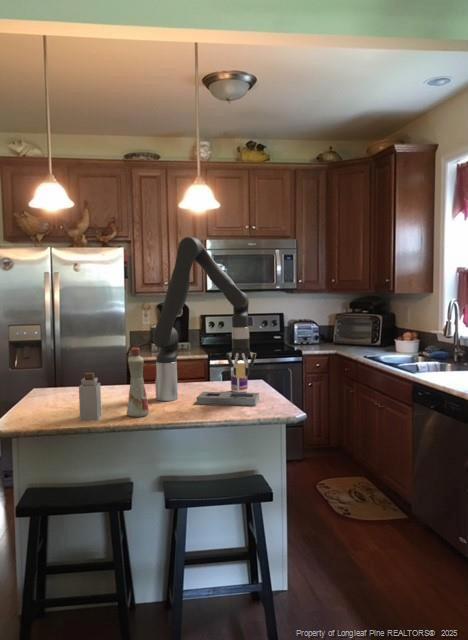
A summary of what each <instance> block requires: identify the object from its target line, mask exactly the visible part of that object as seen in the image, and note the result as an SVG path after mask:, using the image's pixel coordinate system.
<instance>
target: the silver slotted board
mask: <svg viewBox="0 0 468 640" xmlns="http://www.w3.org/2000/svg"><path fill="white" fill-rule="evenodd" d="M259 402H260V392H242V393H240V392H233V391H232V392H231V391H202V392H201V393H200V394H199V395H198V396H196V405H209V406H210V405H213V406H217V405H219V406H220V405H221V406H249V407H250V406H251V407H254V406H257V404H258V403H259Z"/></svg>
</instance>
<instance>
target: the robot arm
mask: <svg viewBox="0 0 468 640" xmlns="http://www.w3.org/2000/svg"><path fill="white" fill-rule="evenodd" d="M194 261H195V262H196V263H197V264H198V265H199V267H201V268H202V269H203V270H204V272H205V273H206V275H207V277H208V278H209V280H210V281H211V283H212V284H213V285H214V286H215V287H216V288H217V289H218V290H219V291H220V292H221V293H222V294H223V295H224V297H225V299H226V300H227V301H228V302H229V303H230V305H232V307H233V309H232V310H233V312H232V313H233V315H232V321H231V323H232V324H231V325H232V328H231V341H232V343H231V346H232V347H231V349H232V350H231V351H230V352H227V353H225V358H226V360H227V362H228V366H229V367H230V368H232V367H233V368H234V375H235V376H236V364H237V363H238V361H242V362H244V363H245V366H246V368H245V374H246V376H247V377H248V376H249V375H250V368H251V367H253V366H254V363H255V360H256V357H257V352H252V351H251V349H250V329H249V315H248V313H249V304H250V302H249V297H248V294H247V293H245V292H244V291H241V290H240V289H239V288H238V286H236V283H235V282H234V280H233V279H232V278H231V276H229V275H228V274H227V273H226V272H225V271H224V270H223V269H222V268H221V267H220V266H219V265H218V263H216V261H215V259H213V258H212V256H211V254H210V253H209V252H208V250H207V249H206V248H205V246H204V245H203V243H202V242H201V241H200V239H199V238H197V237H192V236H186V237H183V238H182V239H181V240H180V241H179V243H178V247H177V253H176V258H175V263H174V268H173V270H172V273H171V278H170V279H169V284H168V286H167V290H166V294H165V297H164V301H163V305H162V308H161V311H160V315H159V318H158V321H157V323H156V326H155V329H154V331H153V334H152V342H153V344H154V346H155V347H157V348H159V349H160V350H159V353H158V354H157V355H156V358H155V359H156V363H155V365H156V366H155V368H156V378H155V385H154V388H155V400H156V401H161V402H169V401H177V400H178V395H179V394H178V365H177V364H178V363H177V359H178V355H179V333H178V331H177V330H176V328H175V327H174V324H175V321H176V319H177V317H178V315H180V312H181V311H182V309H183V308H184V306H185V303H186V301H187V298H188V295H189V291H190V285H191V284H190V283H191V282H190V281H191V279H190V278H191V276H190V275H191V271H192V270H191V269H192V266H193V263H194ZM232 356H233V358H234V360H232ZM249 356H250V357H251V359H250V363H249V359H248V358H249ZM233 362H234V364H233Z"/></svg>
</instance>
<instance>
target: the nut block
mask: <svg viewBox="0 0 468 640" xmlns="http://www.w3.org/2000/svg"><path fill="white" fill-rule="evenodd" d="M245 368H246V366H245V363H237V364H236V378H246V377H247V378H248V376H246V374H245Z"/></svg>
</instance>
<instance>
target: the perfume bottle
mask: <svg viewBox="0 0 468 640" xmlns="http://www.w3.org/2000/svg"><path fill="white" fill-rule="evenodd" d="M83 375H84V377H83V378H82V379H81V380H80V383H81V384H80V385H79V386H78V397H79V399H78V400H79V401H78V402H79V403H78V405H79V420H80V421H98V420H99V419H100V418H101V417H102V396H101V382H98V380H99V378H98V377H95V372H85V373H84V374H83Z"/></svg>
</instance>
